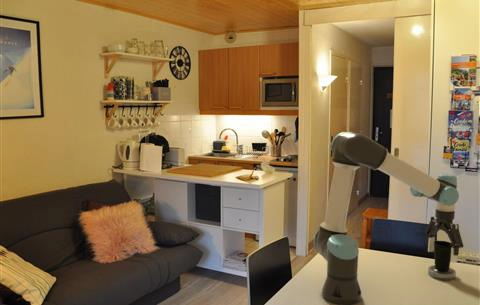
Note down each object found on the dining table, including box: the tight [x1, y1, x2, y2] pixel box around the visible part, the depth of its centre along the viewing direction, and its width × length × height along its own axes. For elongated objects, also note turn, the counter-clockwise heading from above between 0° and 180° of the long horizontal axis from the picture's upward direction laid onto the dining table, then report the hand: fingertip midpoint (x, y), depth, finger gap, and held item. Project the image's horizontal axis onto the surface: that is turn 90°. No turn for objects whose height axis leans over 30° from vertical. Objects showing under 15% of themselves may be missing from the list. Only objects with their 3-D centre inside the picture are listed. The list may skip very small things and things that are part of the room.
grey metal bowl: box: [427, 264, 457, 282], centre depth 189 cm, size 11×11×3 cm
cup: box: [433, 240, 453, 272], centre depth 188 cm, size 8×8×12 cm
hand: (441, 256), depth 188 cm, fingers open, 13 cm apart
